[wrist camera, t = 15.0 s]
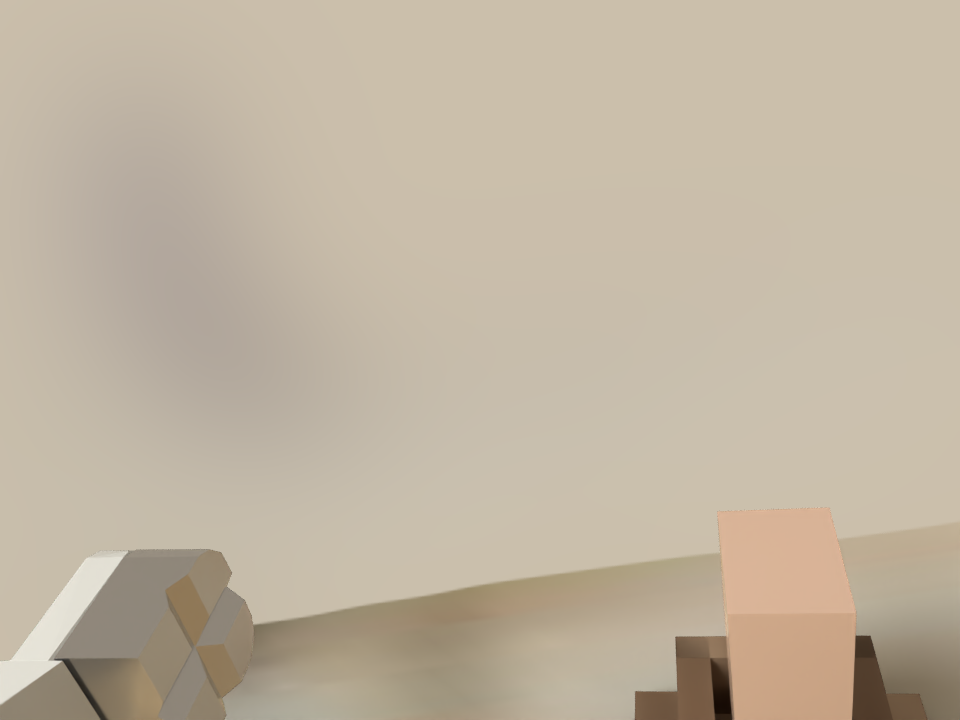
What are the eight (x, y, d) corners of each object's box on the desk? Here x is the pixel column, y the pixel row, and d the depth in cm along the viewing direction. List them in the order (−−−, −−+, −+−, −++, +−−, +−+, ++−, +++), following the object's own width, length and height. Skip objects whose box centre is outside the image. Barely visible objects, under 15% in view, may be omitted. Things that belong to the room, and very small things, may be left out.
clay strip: (743, 847, 36) (727, 614, 29) (733, 739, 40) (717, 511, 33) (846, 853, 35) (856, 612, 28) (825, 741, 39) (829, 507, 32)
